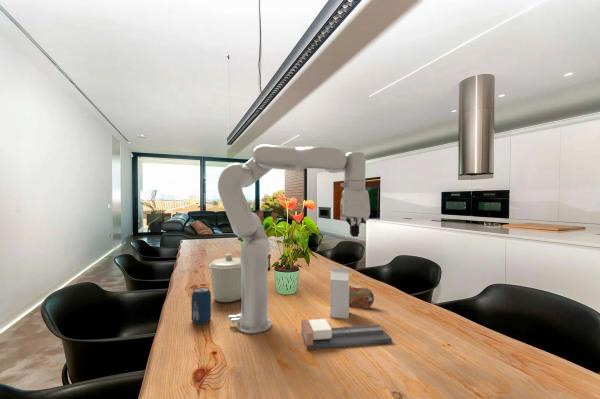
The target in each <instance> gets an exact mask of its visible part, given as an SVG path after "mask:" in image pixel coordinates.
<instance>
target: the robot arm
mask: <svg viewBox="0 0 600 399" xmlns="http://www.w3.org/2000/svg"><path fill="white" fill-rule="evenodd" d="M251 156H252V157H251V158H250V159H248V161H246V162H245V163H242V162H241V163H240V162H234V163H231V164H228V165H227V166H226V167H225V168H224V169H223V170H222V172H221V173H220V175H219V177H218V182H217V189H218V195H219V198H220V201H221V202H222V206H223V209H224V210H225V214H226V216H227V219H228V222H229V224H230V228H231V229H232V232H233V234H234V235H235V236H237V237H238V238H241V239H242V241H243V243H244V244H243V245H242V248H241V250H240V255H239V258H240V262H241V284H242V287H241V298H240V299H241V304H240V305H241V308H240V309H241V310H240V313H238V314H236V315H235V314H228V321H229V322H231V324H233V323H236V329H237V330H238V331H239V332H242V333H245V334H261V333H264V332H265V331H268V330H269V329H271V327H272V326H273V324H272V323H273V322H272V320H271V318H269V317H268V313H269V312H268V308H269V307H268V306H269V305H268V304H269V303H268V301H269V300H268V298H269V297H268V294H269V293H268V292H269V291H268V290H269V288H268V287H269V285H268V284H269V280H268V279H269V278H268V276H269V274H268V257H269V255H270V253H271V244H270V241H269V240H270V239H269V238H268V236H267V233H266V230H265V229H264V225H263V223H262V220H261V219H260V216H258V215H257V213H255V212H254V211H252V210H251V208H250V206H249V204H248V201H247V198H246V196H245V194H244V191H243V188H247V187H250V186H252V185H253V184H255V183H256V182H257V181H259V180H260V179H261V178H262V177H264V176H265V175H267V174H268V173H269V172H270V171H271V170H272V169H276V170H287V171H300V170H305V169H306V170H307V169H318V170H319V169H320V170H326V172H328V173H331V174H339V173H344V181H343V182H340V187H343V190H342V192H341V198H340V208H339V209H340V210H339V212H340V217H339V219H340V220H341V221H345V222H346V223H347V224H348V226H349V235H350V236H351V237H353V238H359V234H360V226H361V224H362V223H363V222H366V221H368V220H370V215H371V205H370V204H371V203H370V195H369V190H368V189H366V154H365V152H362V151H348V152H347V153H345V152H344V151H343V150H342V149H339V148H336V147H324V146H291V145H290V146H286V145H276V144H259V145H257V146H256V147H255V148H254V149H253V151H252V155H251Z"/></svg>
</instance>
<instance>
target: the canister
mask: <svg viewBox="0 0 600 399" xmlns="http://www.w3.org/2000/svg"><path fill="white" fill-rule="evenodd" d="M208 268H210V269H209V271H210V279H211V280H210V281H211V288H212V289H211V290H212V294H213V298H214V299H215V301H217V302H220V303H233V302H236V301H239V300H240V299H241V287H242V284H241V262H240V257H234V255H233V254H232V253H230V252H229V253H226V254H225V255H224V257H223V258H218V259H214V260H213V261H211V262H210V263H208Z"/></svg>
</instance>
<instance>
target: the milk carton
mask: <svg viewBox="0 0 600 399" xmlns="http://www.w3.org/2000/svg"><path fill="white" fill-rule="evenodd" d="M329 280H330V284H329V287H330V288H329V290H330V291H329V295H330V298H329V302H330V303H329V305H330V306H329V307H330V308H329V312H330V313H329V317H330V318H335V319H337V318H338V319H346V320H347V319H349V317H350V316H349V313H350V306H349V286H350V268H349V267H334V266H331V268H330V278H329Z"/></svg>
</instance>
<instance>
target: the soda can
mask: <svg viewBox="0 0 600 399" xmlns="http://www.w3.org/2000/svg"><path fill="white" fill-rule="evenodd" d="M211 318H212V292H211V291H210V288H209V287H206V286H205V287H204V286H201V287H197V288H194V289H193V292H192V293H191V320H192V323H193V324H194V323H195V325H204V324H207V323H208V322H209V321H210V320H211Z"/></svg>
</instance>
